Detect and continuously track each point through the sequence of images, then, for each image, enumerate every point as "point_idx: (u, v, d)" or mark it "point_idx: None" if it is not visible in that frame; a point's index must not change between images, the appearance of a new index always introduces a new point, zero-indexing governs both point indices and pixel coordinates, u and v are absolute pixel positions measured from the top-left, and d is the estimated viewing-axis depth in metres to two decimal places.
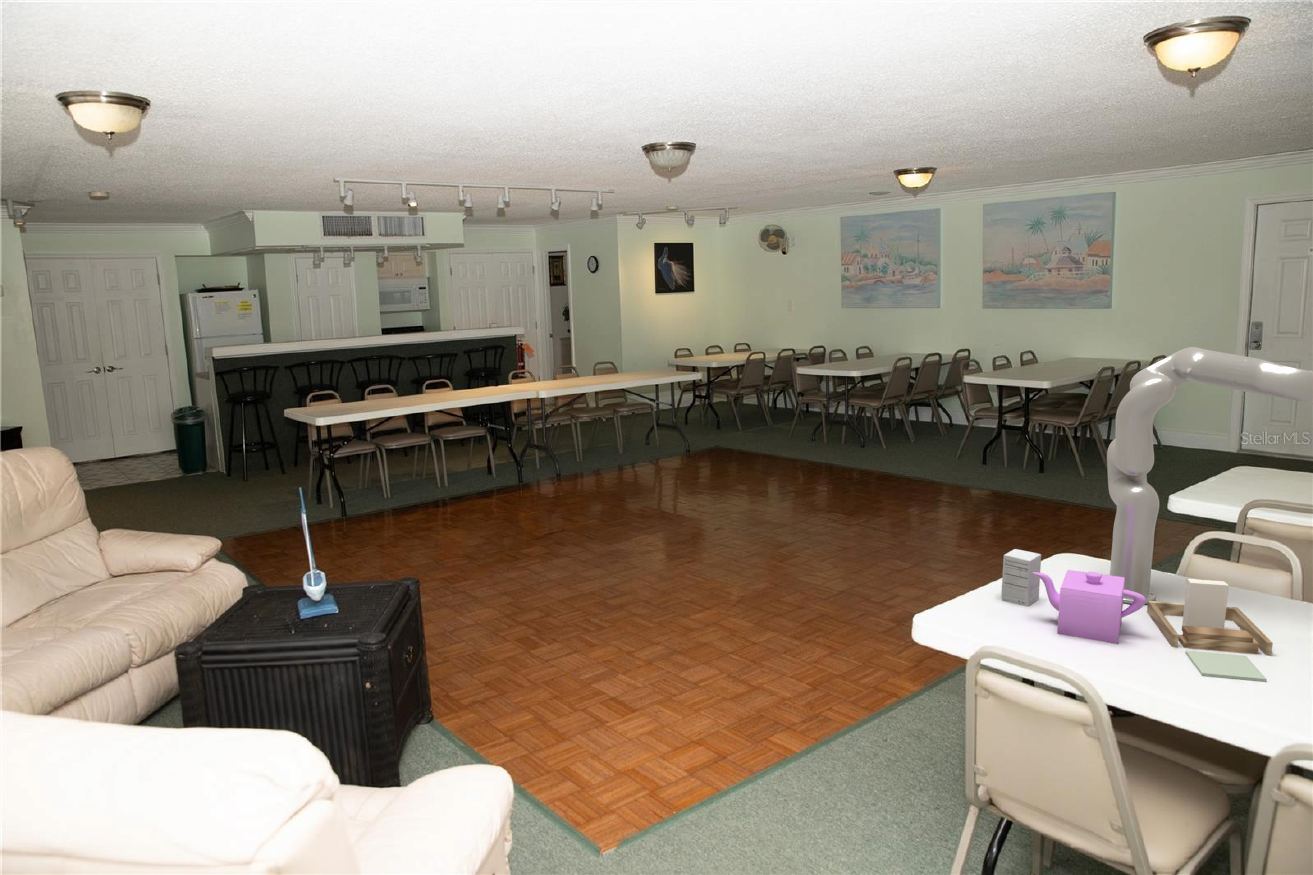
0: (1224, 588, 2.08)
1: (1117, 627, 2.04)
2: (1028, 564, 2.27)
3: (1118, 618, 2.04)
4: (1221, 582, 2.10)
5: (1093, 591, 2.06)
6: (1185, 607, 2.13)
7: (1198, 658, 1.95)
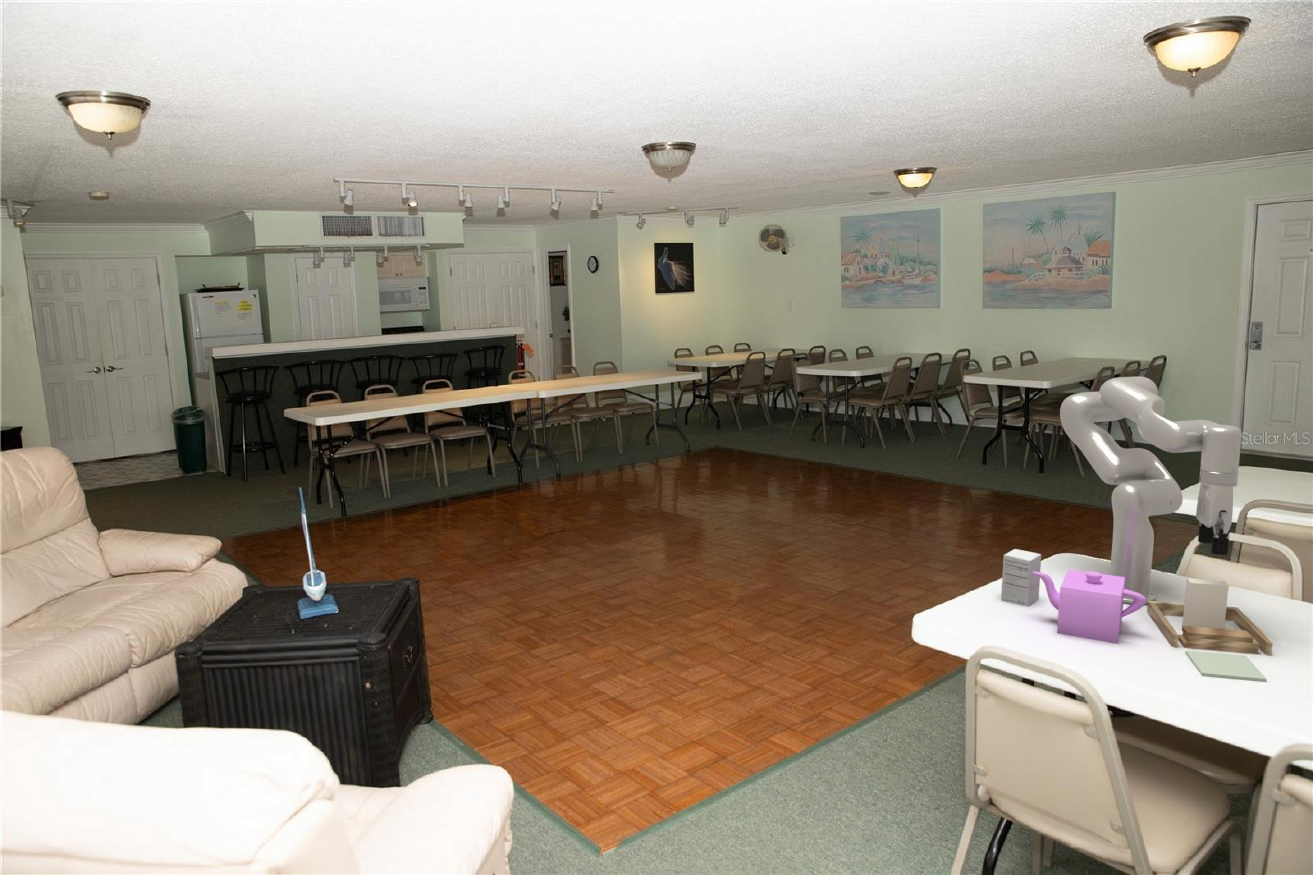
0: (1224, 588, 2.08)
1: (1117, 627, 2.04)
2: (1028, 564, 2.27)
3: (1118, 618, 2.04)
4: (1221, 582, 2.10)
5: (1093, 591, 2.07)
6: (1185, 607, 2.13)
7: (1198, 658, 1.95)
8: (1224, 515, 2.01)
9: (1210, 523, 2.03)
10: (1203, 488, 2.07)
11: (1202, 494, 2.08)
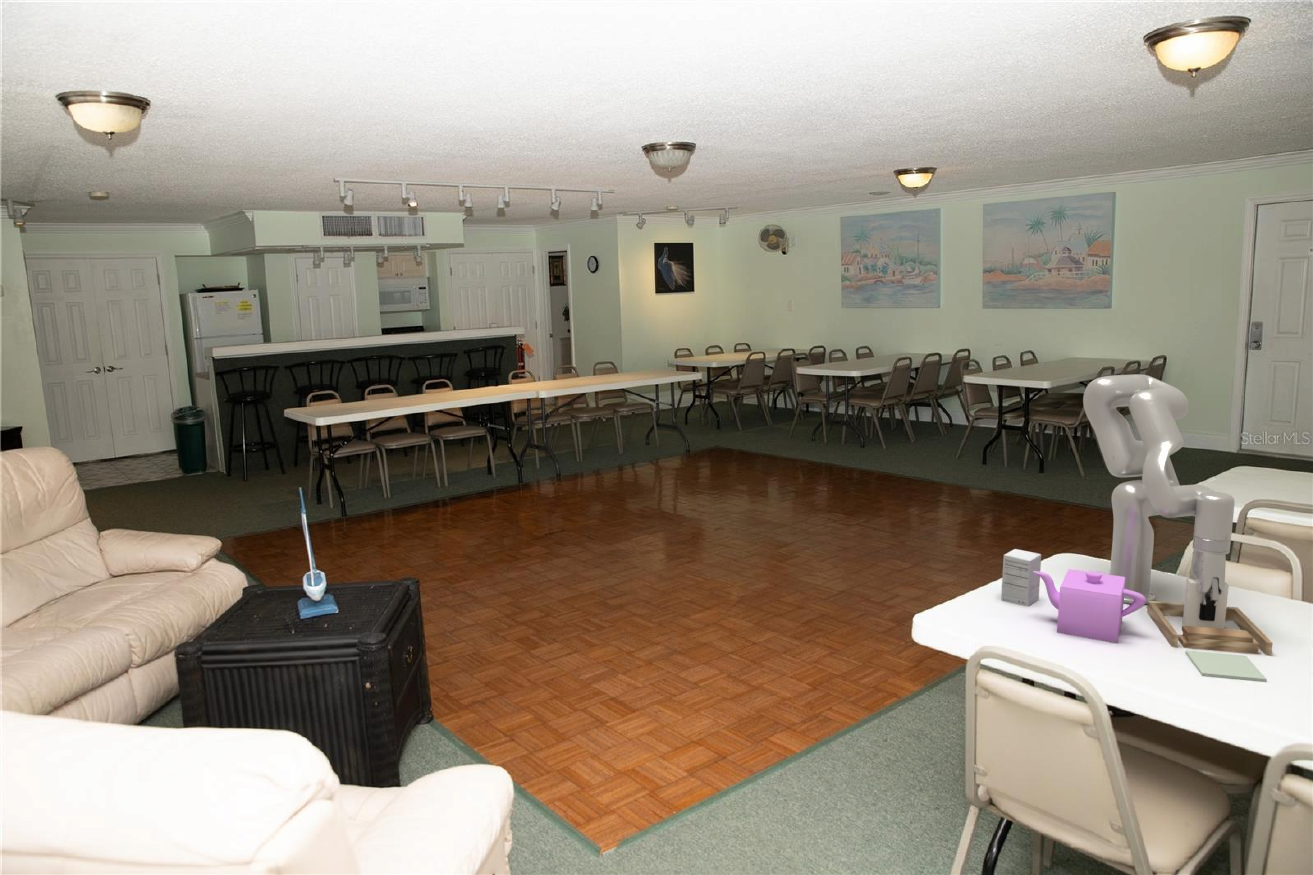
0: (1224, 588, 2.08)
1: (1116, 626, 2.05)
2: (1028, 564, 2.27)
3: (1117, 617, 2.04)
4: None
5: (1093, 590, 2.07)
6: (1185, 607, 2.13)
7: (1198, 658, 1.95)
8: (1215, 586, 2.05)
9: (1203, 589, 2.06)
10: (1196, 553, 2.10)
11: (1195, 559, 2.11)
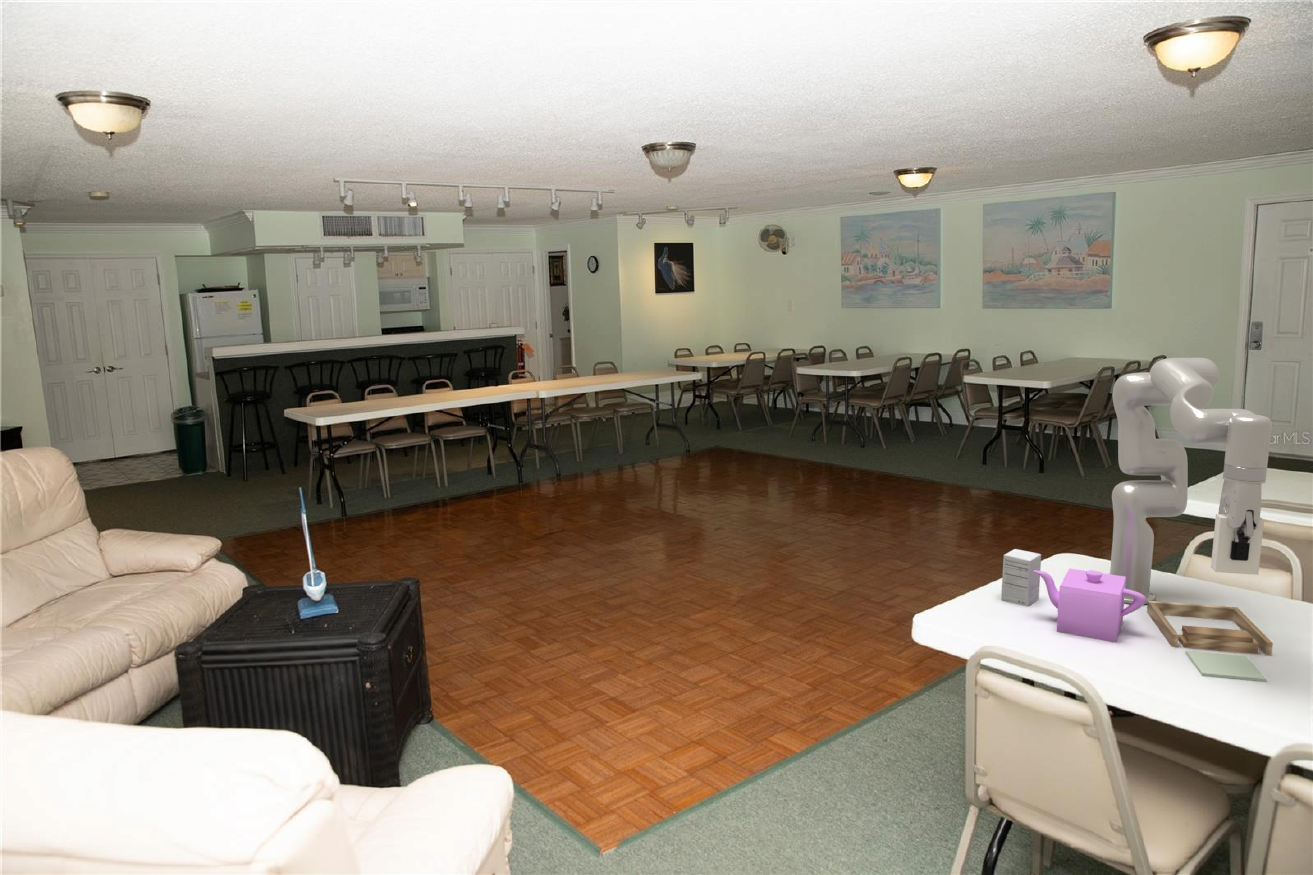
0: (1259, 523, 1.84)
1: (1116, 626, 2.05)
2: (1028, 564, 2.27)
3: (1117, 617, 2.05)
4: None
5: (1092, 589, 2.07)
6: (1214, 546, 1.89)
7: (1198, 658, 1.95)
8: (1249, 520, 1.81)
9: (1235, 524, 1.82)
10: (1227, 485, 1.86)
11: (1226, 491, 1.87)
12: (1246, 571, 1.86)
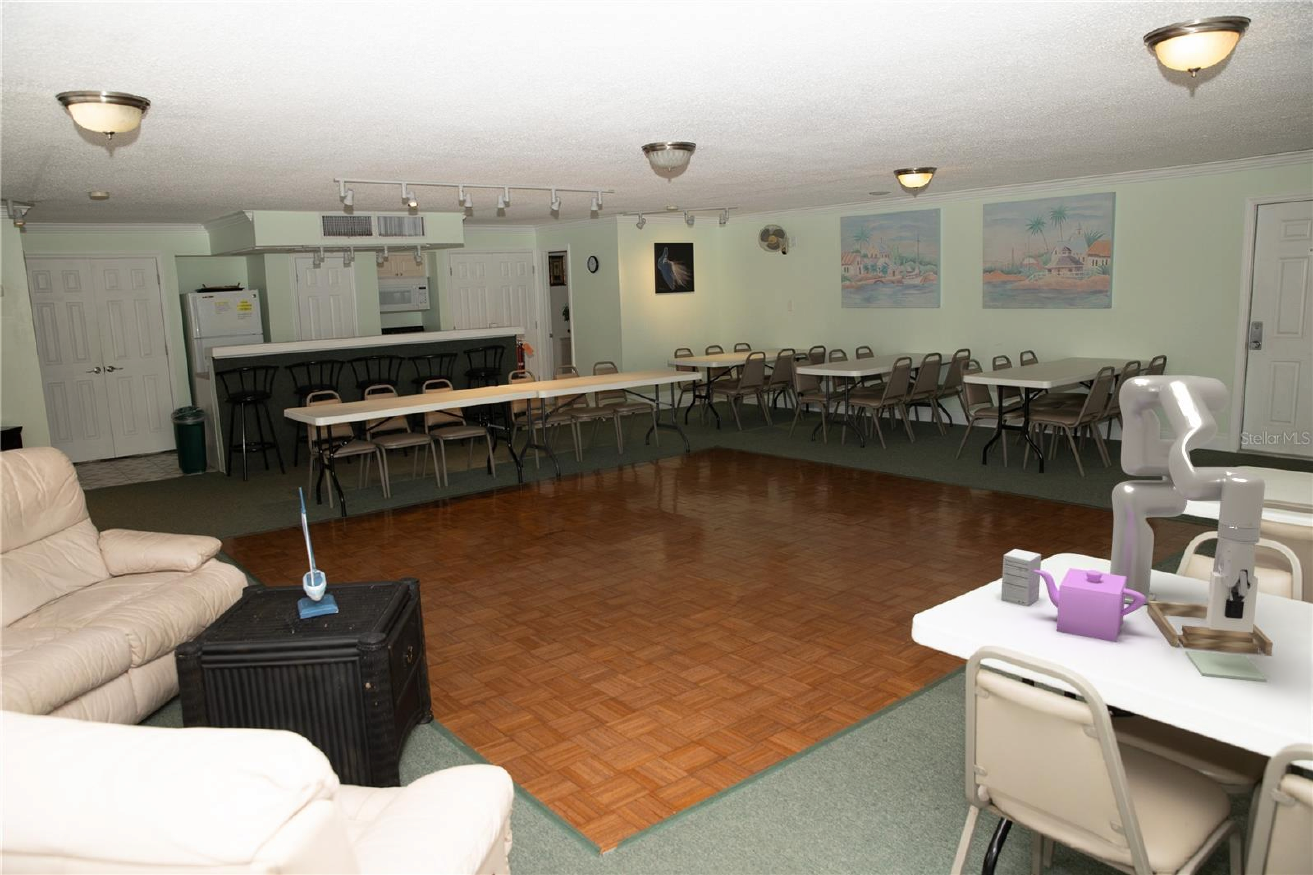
0: (1253, 582, 1.86)
1: (1116, 625, 2.05)
2: (1028, 564, 2.27)
3: (1117, 616, 2.05)
4: None
5: (1092, 589, 2.08)
6: (1209, 603, 1.91)
7: (1198, 658, 1.95)
8: (1243, 580, 1.83)
9: (1229, 583, 1.84)
10: (1221, 543, 1.88)
11: (1220, 550, 1.89)
12: (1241, 629, 1.88)
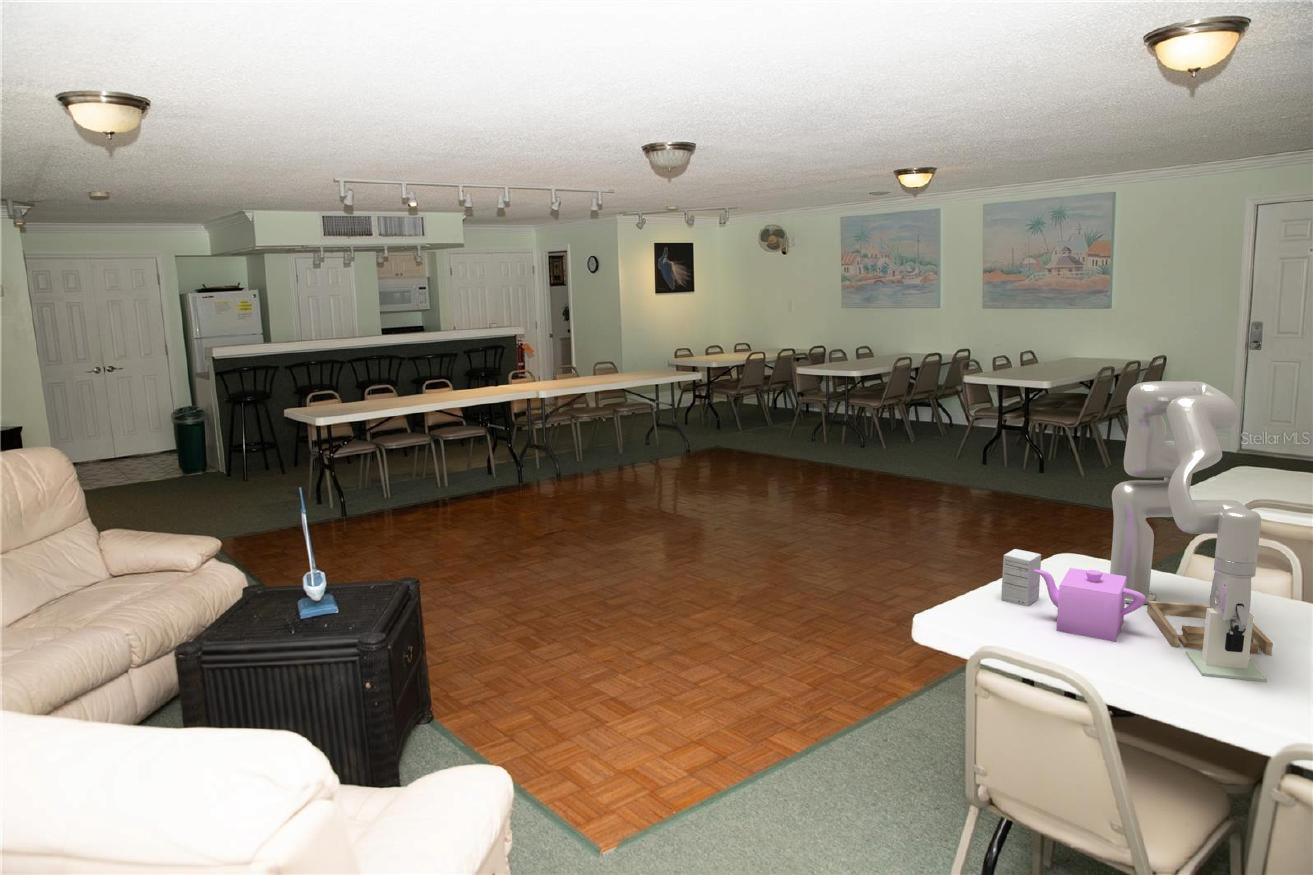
0: (1248, 619, 1.88)
1: (1115, 625, 2.05)
2: (1028, 564, 2.27)
3: (1116, 616, 2.05)
4: None
5: (1092, 589, 2.08)
6: (1205, 639, 1.93)
7: (1198, 658, 1.95)
8: (1241, 610, 1.84)
9: (1225, 617, 1.86)
10: (1218, 576, 1.90)
11: (1217, 583, 1.90)
12: (1236, 665, 1.90)
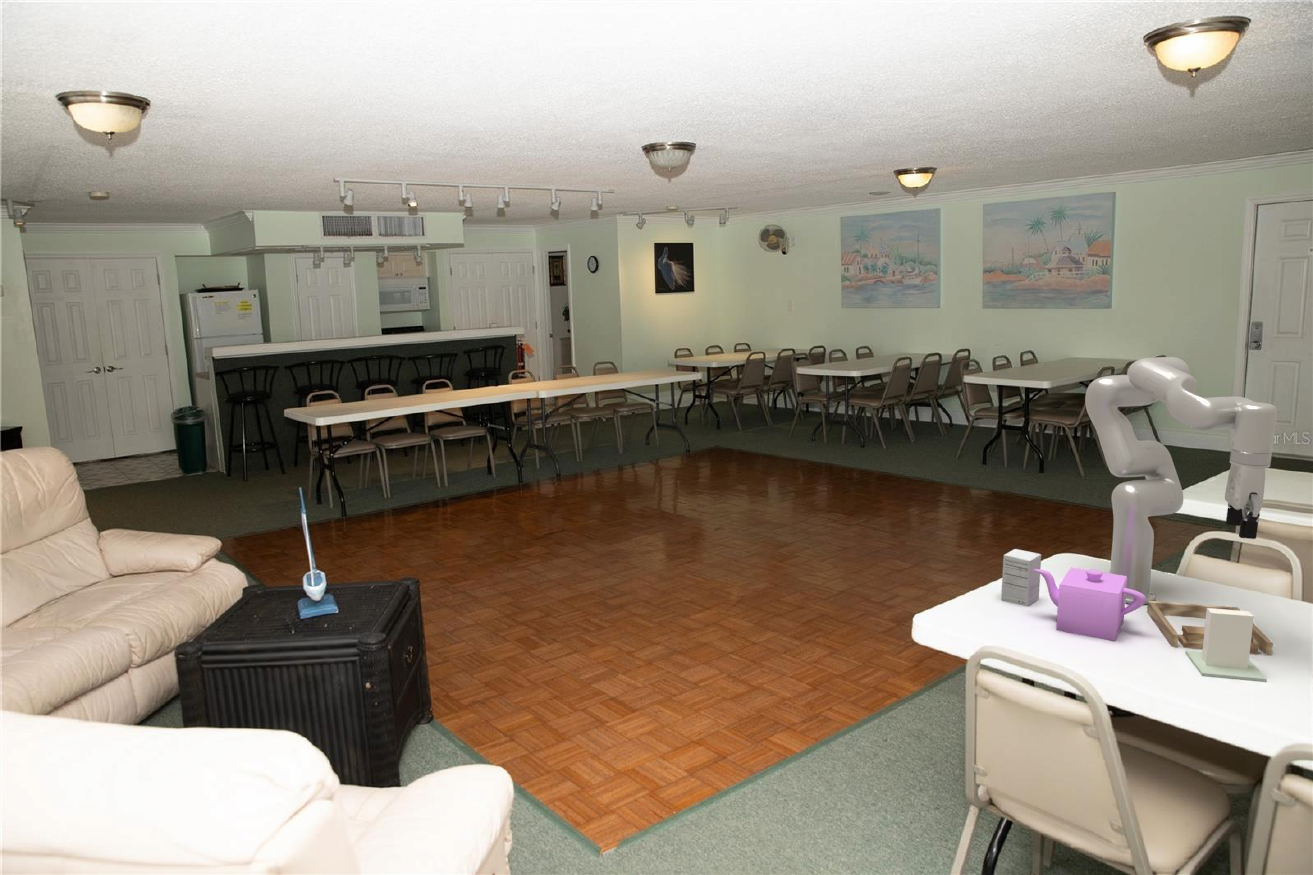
0: (1248, 619, 1.88)
1: (1115, 625, 2.06)
2: (1028, 564, 2.27)
3: (1116, 616, 2.05)
4: (1245, 612, 1.90)
5: (1092, 588, 2.08)
6: (1205, 639, 1.93)
7: (1198, 658, 1.95)
8: (1254, 497, 1.91)
9: (1239, 505, 1.94)
10: (1233, 468, 1.97)
11: (1232, 475, 1.98)
12: (1236, 665, 1.90)
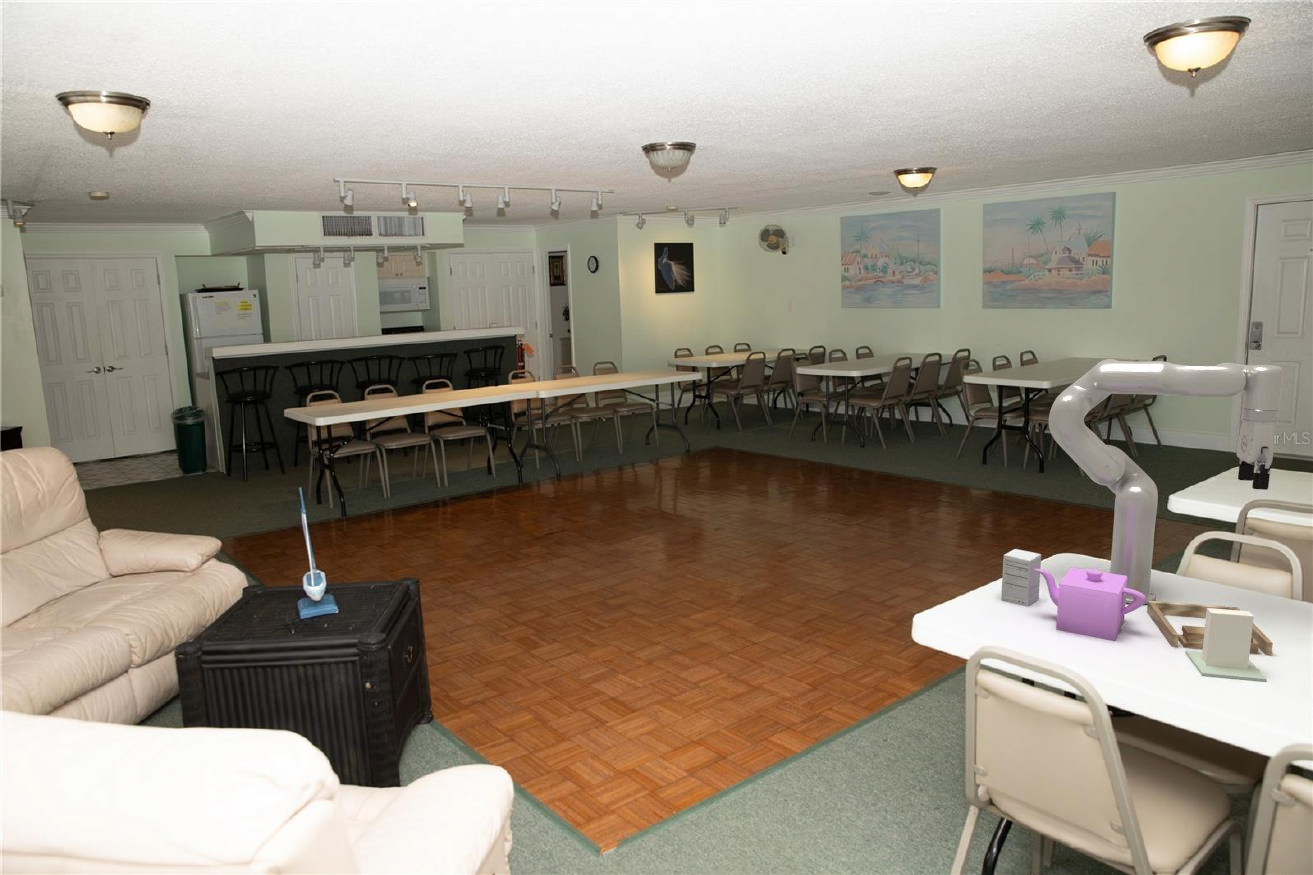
0: (1248, 619, 1.88)
1: (1115, 624, 2.06)
2: (1028, 564, 2.27)
3: (1116, 615, 2.05)
4: (1245, 612, 1.90)
5: (1091, 588, 2.08)
6: (1205, 639, 1.93)
7: (1198, 658, 1.95)
8: (1266, 450, 2.09)
9: (1252, 459, 2.11)
10: (1245, 426, 2.15)
11: (1243, 432, 2.16)
12: (1236, 665, 1.90)
